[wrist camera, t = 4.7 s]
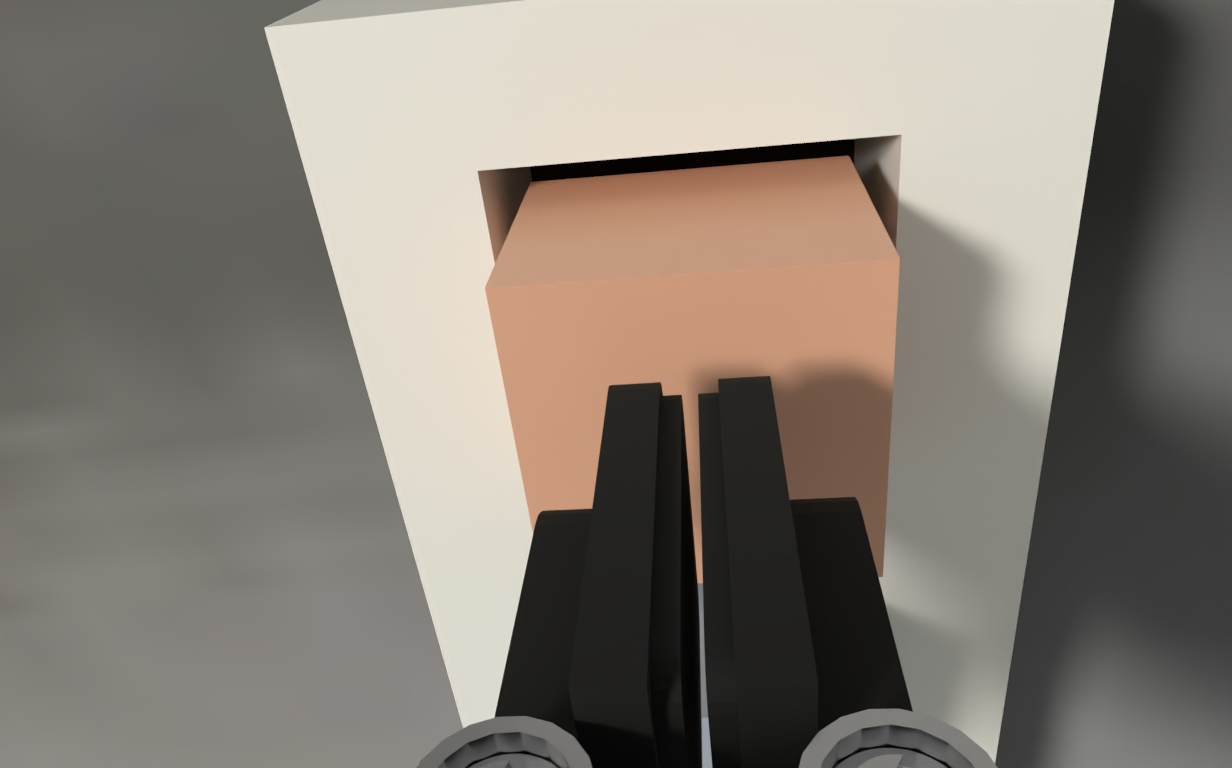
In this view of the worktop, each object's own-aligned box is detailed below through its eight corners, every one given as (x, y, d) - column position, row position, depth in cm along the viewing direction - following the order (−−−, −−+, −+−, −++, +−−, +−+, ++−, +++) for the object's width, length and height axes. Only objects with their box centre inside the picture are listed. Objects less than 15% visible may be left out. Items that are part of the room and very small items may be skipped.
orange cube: (849, 155, 13) (900, 258, 10) (842, 425, 15) (883, 576, 12) (530, 181, 13) (485, 287, 10) (571, 439, 15) (543, 588, 12)
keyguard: (1022, -89, 13) (1147, -57, 10) (918, 912, 26) (955, 1084, 23) (354, -16, 14) (243, 37, 11) (569, 910, 27) (551, 1075, 24)
